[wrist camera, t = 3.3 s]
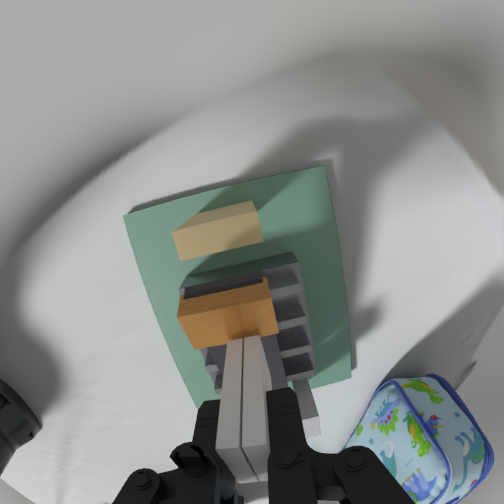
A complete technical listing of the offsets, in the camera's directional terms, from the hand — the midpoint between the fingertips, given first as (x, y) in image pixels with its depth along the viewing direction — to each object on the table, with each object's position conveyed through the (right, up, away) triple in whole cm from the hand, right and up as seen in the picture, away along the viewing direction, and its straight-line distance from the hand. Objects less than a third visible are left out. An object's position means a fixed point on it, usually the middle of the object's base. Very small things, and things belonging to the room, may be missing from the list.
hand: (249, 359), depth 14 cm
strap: (0, -3, +5) cm, 5 cm away
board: (0, 0, +14) cm, 14 cm away
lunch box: (+20, -22, +21) cm, 36 cm away
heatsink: (0, -1, +14) cm, 14 cm away
